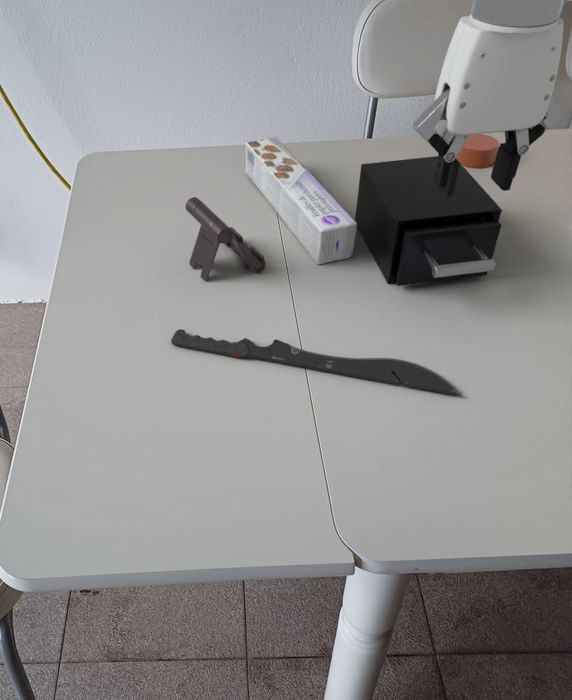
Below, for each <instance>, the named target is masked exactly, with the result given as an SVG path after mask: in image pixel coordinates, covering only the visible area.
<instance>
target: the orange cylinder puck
mask: <svg viewBox="0 0 572 700" xmlns="http://www.w3.org/2000/svg"><path fill="white" fill-rule="evenodd" d="M499 146H500V142H499V140H498V139H497V138H495V137H493V136H491V135H488V134H485V133H483V134H472V135H469V136H468V137H467V139H466V141H465V143H464V144H463V146H462V148H461V150H460V152H459V153H458V155H457V157H456V159H457V160H458V161H459V162H460V163H461V165H462V164H463V165H462V166H464V165H465V166H464V167H468V168H471V169H484V168H485V169H486V168H489V167H491V166H493V165H494V162H495V158H496V154H497V151H498V147H499ZM490 165H491V166H490ZM488 166H489V167H488Z"/></svg>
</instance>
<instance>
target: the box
mask: <svg viewBox="0 0 572 700" xmlns="http://www.w3.org/2000/svg"><path fill="white" fill-rule="evenodd" d="M245 173H246V174H247V175H248V177H249V178H250V179H251V180H252V182H253V183H254V185H255V186H256V187H257V188H258V190H259V191H260V192H261V194H262V195H263V196H264V198H266V200H267V201H268V203H269V204H270V205H271V207H272V208H273V209H274V211H275V212H276V213H277V214H278V216H279V217H280V218H281V220H282V221H283V222H284V223H285V225H286V226H287V227H288V228H289V230H290V231H291V233H292V234H293V235H294V236H295V237H296V239H297V240H298V242H300V244H301V245H302V247H304V249H305V250H306V251H307V253H308V254H309V256H310V257H311V258H312V259H313V260H314V262H315V263H316V265H324V264H327V263H328V264H329V263H330V262H331V263H332V262H336V261H342V260H345V259H350V258H351V257H353V254H354V248H355V242H356V235H357V230H358V229H357V223H356V221H355V218H353V217H352V216H351V215H350V214H349V213H348V212H347V211H346V210H345V208H344V207H343V206H342V205H341V204H340V202H338V201H337V200H336V199H335V198H334V197H333V196H332V194H330V192H329V191H327V189H326V188H325V187H324V186H323V185H322V184H321V182H319V181H318V180H317V179H316V178H315V177H314V175H313V174H312V173H311V172H310V171H309V170H308V169H307V168H306V167H305V166H304V165H303V164H302V162H300V161H299V159H298V158H297V157H296V156H295V155H294V154H293V153H292V152H291V151H290V149H288V148H287V147H286V145H285V144H284V143H283V142H282V141H281V140H280V139H279V138H278V137H277V136H272V137H266V138H263V139H261V138H260V139H256V140H252V141H251V140H250V141H246V142H245Z"/></svg>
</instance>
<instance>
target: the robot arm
mask: <svg viewBox="0 0 572 700" xmlns="http://www.w3.org/2000/svg"><path fill="white" fill-rule="evenodd" d="M568 2H572V0H472V1H471V7H470V12H469V15H466V16H465V15H464V16H461V17H460V18H459V19H458V20H459V21H458V23H457V25H456V27H455V29H454V33H453V35H452V38H451V40H450V43H449V46H448V48H447V51H446V54H445V57H444V60H443V64H442V68H441V71H440V75H439V78H438V83H437V85H436V86H437V87H436V91H435V95H434V99H433V102H432V103H431V104H430V105H429V106H428V107H427V108H426V110H424V111H423V112H422V113H421V115H420V116H418V117H417V119H415V121H414V122H413V124H412V127H413V130H415V132H416V133H417V134H419V136H420V137H422V138H423V140H424V141H426V142H427V143H428V144H429V145H430V146H431V147H432V149H433V150H435V151H436V153H437V156H438V159H437V164H436V169H435V174H434V183H435V185H436V186H437V187H438V188H439V190H440V191H441V192H442V193H443V195H444V196H445V197H451V196H452V195H453V193H454V188H455V184H456V179H457V175H458V170H459V166H460V163H459V161H458V160H457V159H456V157H457V155H458V153H459V152H460V150H461V148H462V146H463V144H464V143H465V141H466V139H467V137H468V136H469V135H472V134H492V133H500V132H504V137H505V138H504V139H505V142H501V143H500V142H499V146H498V150H497V154H496V158H495V161H494V163H493V165H492V170H491V174H490V179H491V180H492V181H493V183H495V184H496V185H497V186H498V188H499V189H500V190H502V191H503V192H507V191H510V190H511V187H512V183H513V181H514V179H515V178H516V175H517V171H518V168H519V164H520V161H521V158H522V156H523V155H526V154H527V153H528V152H529V150H530V146H531V145H532V144H534V143H535V142H536V141H537V140H538V139H539V138H540V137H542V136H543V135H544V133H545V132H546V130H549V128H551V127H552V126H554V125H555V124H556V123H557V122H558V121H560V120H561V119H562V118H563V116H564V111H563V109H562V107H561V106H560V104H559V103H558V101H557V99H556V98H555V96H554V95H553V93H554V89H555V85H556V80H557V76H558V71H559V65H560V63H561V54H562V48H563V38H564V24H565V23H564V19H563V18H561V17H560V16H561V14H562V13H563V10H564V6H565V4H567V3H568ZM440 121H446V123H445V126H444V127H443V129H442V131H441V132H440V134H439V132H438V131H436V130H435V125H436V124H438V122H440Z"/></svg>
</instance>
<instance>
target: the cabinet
mask: <svg viewBox="0 0 572 700" xmlns="http://www.w3.org/2000/svg"><path fill="white" fill-rule="evenodd" d="M437 159H438V155H436V156H425V157H418V158H417V157H416V158H407V159H397V160H396V159H395V160H387V161H379V162H368V163H360V172H359V180H358V190H357V199H356V206H355V216H354V220H355V221H356V223H357V229H356V230H358V232H359V234H360V236H361V238H362V240H363V241H364V243H365V244H366V247H367V249H368V251H369V252H370V254H371V256H372V257H373V259H374V261H375V263H376V265H377V267H378V269H379V271H380V272H381V274H382V276H383V278H384V280H385V281H386V283H387V285H391V284H397V283H396V281H395V278H396V272H397V270H396V268H397V263H398V257H399V251H400V245H401V240H402V234H403V228H404V226H411V225H420V224H429V223H438V222H447V221H456V220H465V219H473V218H482V217H486V218H485V221H488V220H496V219H497V220H498V221H499V222H500V218H501V214H502V211H503V209H502V208H501V207H500V206H499V205H498V203H496V202H495V200H494V199H493V198H492V197H491V195H489V193H488V192H486V190H485V189H484V188H483V187H482V185H481V184H479V182H478V181H477V180H476V179H475V178H474V177H473V176H472V175H471V173H470V172H469V171H468V170H467V169H466V167H465V166H464V165H462V164H461V163H460V162H459V163H460V166H459V170H458V175H457V179H456V184H455V188H454V193H453V195H452V196H451V197H445V196H444V195H443V193H442V192H441V191H440V190H439V188H438V187H437V186H436V185H435V183H434V174H435V169H436V164H437Z"/></svg>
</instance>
